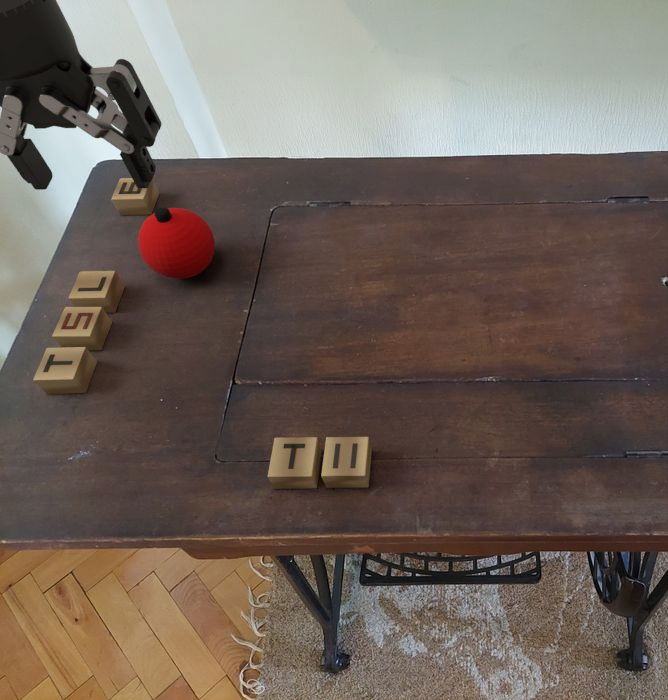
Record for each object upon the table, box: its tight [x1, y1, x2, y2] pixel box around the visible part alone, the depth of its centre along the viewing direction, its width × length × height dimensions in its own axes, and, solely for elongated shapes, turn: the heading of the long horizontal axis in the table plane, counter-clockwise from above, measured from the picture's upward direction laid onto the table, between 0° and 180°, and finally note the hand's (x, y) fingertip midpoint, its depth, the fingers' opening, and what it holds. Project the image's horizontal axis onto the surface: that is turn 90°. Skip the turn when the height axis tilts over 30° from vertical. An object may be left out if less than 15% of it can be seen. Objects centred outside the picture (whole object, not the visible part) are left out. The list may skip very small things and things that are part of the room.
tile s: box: [51, 306, 113, 352], centre depth 79 cm, size 4×4×3 cm
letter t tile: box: [32, 347, 98, 395], centre depth 75 cm, size 4×4×3 cm
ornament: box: [137, 207, 216, 280], centre depth 83 cm, size 9×9×10 cm
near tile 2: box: [267, 436, 323, 490], centre depth 68 cm, size 4×4×3 cm
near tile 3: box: [321, 436, 373, 489], centre depth 69 cm, size 4×4×3 cm
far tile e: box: [110, 177, 160, 216], centre depth 93 cm, size 4×4×3 cm
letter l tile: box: [68, 270, 126, 314], centre depth 82 cm, size 4×4×3 cm
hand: (96, 182), depth 55 cm, fingers open, 8 cm apart
